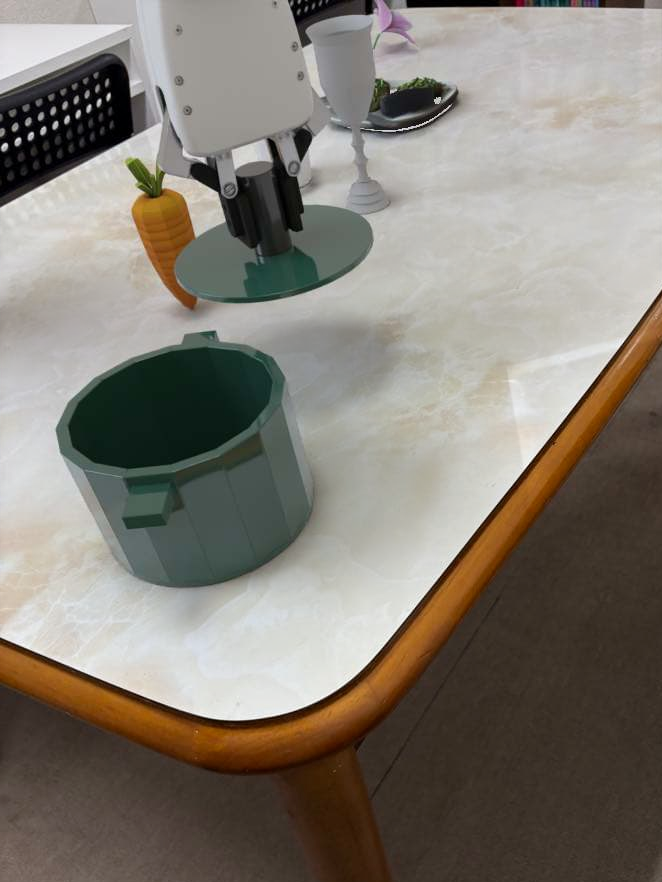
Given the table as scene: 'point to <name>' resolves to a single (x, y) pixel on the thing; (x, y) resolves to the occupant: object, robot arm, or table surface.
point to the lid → (273, 248)
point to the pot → (190, 461)
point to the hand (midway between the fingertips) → (269, 232)
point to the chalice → (350, 92)
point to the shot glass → (265, 156)
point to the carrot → (162, 226)
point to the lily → (391, 21)
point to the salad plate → (403, 103)
